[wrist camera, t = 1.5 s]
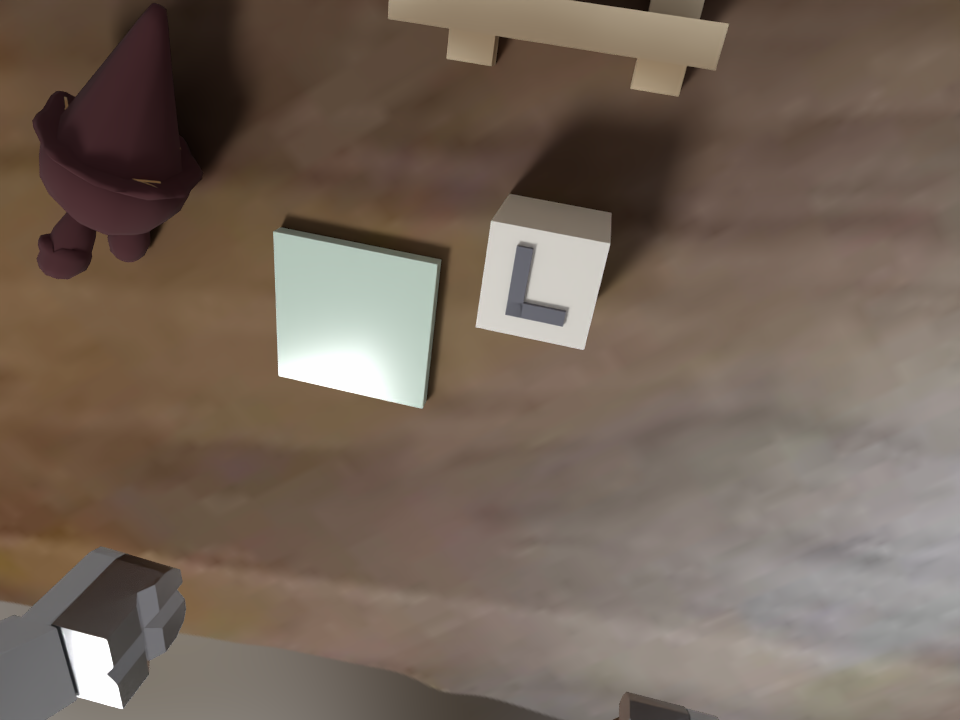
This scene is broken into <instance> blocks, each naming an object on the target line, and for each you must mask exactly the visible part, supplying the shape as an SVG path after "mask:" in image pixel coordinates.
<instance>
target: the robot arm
mask: <svg viewBox="0 0 960 720" xmlns="http://www.w3.org/2000/svg"><path fill="white" fill-rule="evenodd" d="M181 584H182V577H181V571H180V569H177V568H173V567H170V566H166V565H163V564H160V563H156V562H153V561H149V560H146V559H143V558H139V557H136V556H132V555H129V554H127V553H123V552H119V551H116V550H112V549H109V548H105V547H99V548H97V549H95V550H93V551H91V552H90V553H88V554H87V555H86V556H85V557H84V558H83V559H82V560H81V561H80V562H79V563H78V564H77V565H76V566H75V567H74V568H72V569H71V570H70V571H69V572H68V573H67V574H66V575H65V576H64V577H63V578H62V579H61V580H60V581H59V582H58V583H57V584H56V585H55V586H53V587H52V588H51V589H50V590H49V591H48V592H47V593H46V594H45V595H44V596H43V597H42V598H41V599H40V600H39V601H38V602H37V603H35V604H34V605H33V606H32V607H31V608H30V609H29V610H28V611H27V612H26V613H25V614H24V615H23V616H22V617H20V616H16V615H12V616H10V617H8V618H5V619H3V620H1V621H0V720H46V719H48V718H49V717H51V716H53V715H54V714H56V713H57V712H59V711H60V710H62V709H64V708H65V707H67V706H68V705H70V704H71V703H73V702H74V701H76V700H77V697H80V698H84V699H88V700H91V701H95V702H99V703H102V704H106V705H110V706H113V707H117V708H121V709H123V708H124V707H125V705H126V704H127V703H128V701H129V700H130V699H131V697H132V696H133V695H134V694H135V692H136V691H137V690H138V688H139V687H140V686H141V684H142V683H143V681H144V680H145V679H146V678H147V676H148V675H149V661H150V660H151V659H153V658H155V657H157V656H159V655H161V654H163V653H165V652H166V651H167V650H168V648H169V647H170V645H171V644H172V643H173V641H174V640H175V639H176V637H177V635H178V633H179V630H180V628H181V626H182V624H183V622H184V617H185V611H186V606H185V599H184V598H183V596H182V595H181V594H180V593H179V592H178V590H177V589H178V587H179V586H180V585H181ZM614 720H719V719H718V717H716V716H714V715H710V714H706V713H703V712H699V711H695V710H691V709H687V708H685V707H684V706H680V705H676V704H672V703H668V702H664V701H661V700H657V699H653V698H649V697H645V696H641V695H637V694H633V693H630V692H626V693H625V694H624V695H623V696H622V699H621V701H620V703H619V717H618V718H616V719H614Z"/></svg>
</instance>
